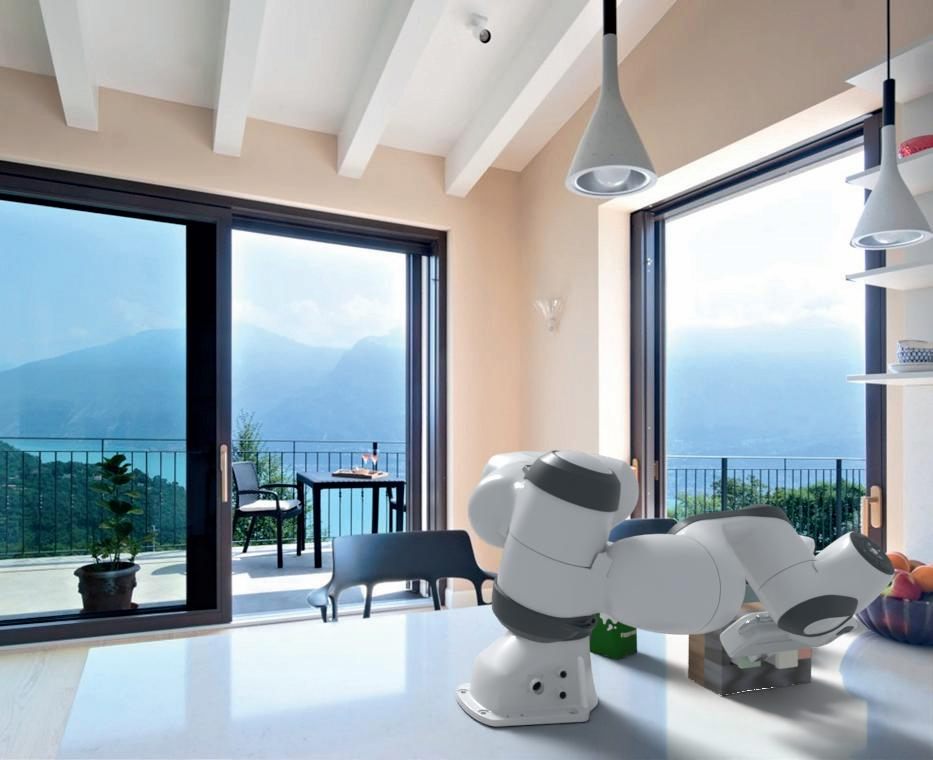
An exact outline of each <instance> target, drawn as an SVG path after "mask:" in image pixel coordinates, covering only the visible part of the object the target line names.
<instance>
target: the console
mask: <svg viewBox="0 0 933 760" xmlns="http://www.w3.org/2000/svg"><path fill="white" fill-rule="evenodd" d="M757 612H766V609H765V608H764V606H763V605H762V603H761V602H753V603H742V605H741V608H740V610H739V611H738V613H737V615H736V616H735V617H734V619H733V620H732V621H731V622H730V623H728V624H727V625H726V626H724V627H722V628H720V629H718V630H715V631H712V632H709V633H704V634H697V635H688V652H687V653H688V656H687V659H688V661H687V662H688V663H687V664H688V665H687V667H688V669H687V670H688V671H687V676H688V677H687V679H689V678H690V679H691V681H692V680H694V681H695V683H696V682H697V683H696V684H698V683H699V684H698V685H700V686H702V687H703V686H704V687H703V688H705V687H706V688H705V689H707V688H708V689H707V690H709V689H710V690H709V691H711V690H712V691H711V692H713V691H714V692H716V693H718V694H720V695H726V694H732V693H737V692H742V691H747V690H754V689H755V690H756V689H762V688H770V689H772V688H771V687H777V688H780V687H779V686H783V687H786V686H785V685H790V686H793V685H792V684H796V685H800V684H799V683H802V684H808V682H809V683H812V658H805V659H798V666H797V667H790V668H783V669H778V668H776V667H775V665H773V664H771V663H769V662H766V661H764V660H762V661H761V666H758V667H750V668H743V669H741V668H739V667H738V665H737V664H735V663H732V662H730V657H729V655H728V654H727V652H726V651H725V649H724V647H723V645H722V643H721V641H720V635H721V633H722V632H723V631H725V630H726V629H727V628H728V627H729V626H731V625H732V624H733V623H734V622H736V621H737V620H738V619H740V618H741V617H743V616H745V615H747V614H751V613H757ZM690 679H689V680H690ZM694 681H693V682H694ZM714 692H713V693H714ZM716 693H715V694H716ZM718 694H717V695H718ZM720 695H719V696H720ZM732 695H733V694H732ZM726 696H727V695H726Z"/></svg>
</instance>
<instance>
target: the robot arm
mask: <svg viewBox="0 0 933 760" xmlns="http://www.w3.org/2000/svg"><path fill="white" fill-rule="evenodd" d="M639 494H640V488H639V481H638V478H637V475H636V473H635V472H634V470H633V468H632V467H631V466H630V464H628V462H627V461H625V460H621V459H618V458H614V457H610V456H606V455H601V454H593V453H590V454H589V453H585V452H583V451H578V450H558V449H557V450H556V449H555V450H550V451H532V450H531V451H528V450H520V451H510V452H504V453H499V454H498V453H497V454H494V455H493V456H492V457H491V458H490V459H489V460H488V461H487V462H486V463H485V465H484V467H483V469H482V473H481V476H480V481H479V482H477V485H475V486H474V488H473V490H472V492H471V493H470V496H469V498H468V499H469V500H468V502H467V503H468V504H467V518H468V521H469V524H470V527H471V529H472V531H473V532H474V534H475V535H476V536H477V537H478V538H479V539H480V540H481V541H482V542H484V543H485V544H487V545H489V546H491V547H494V548H496V549H501V550H502V549H503V550H502V554H501V558H500V561H499V567H498V573H497V575H496V577H495V578H494V579H493V584H492V591H491V610H492V612H493V614H494V615H495V617H496V618H497V620H498V621H499V623H500V624H501V625H502V626H503V627H504V628H505V629H507V630H506V631H505V632H504V633H503V634H501V635H500V637H498V638H497V639H495V641H494V642H492V643H491V644H490V645H488V646H487V647H486V648H485V649H484V650H482V651H481V652H480V653H478V655H477V656H476V658H475V659H474V662H473V663H474V664H473V667H472V672H471V677H470V682H466V683H462V684H459V685H458V686H457V688H456V695H455V696H456V700H457V703H458V704H459V705H460V707H461V709H463V710H464V712H466V714H468V715H469V716H470V717H472V718H473V719H474V720H476V721H477V722H480V723H482V724H485V725H487V726H492V727H511V726H526V725H527V726H529V725H546V724H561V723H562V724H564V723H581V722H582V723H583V722H587V721H588V720H589V719H590V713H591V711H592V710H594V708H596V706H598V703H599V697H598V695H597V694H598V693H597V691H596V686H595V682H594V678H593V676H594V674H593V669H592V658H591V651H590V639H591V634H592V629H593V628H594V627H595V626H596V625H597V624H598V618H597V616H596V614H595V613H605V614H607V615H609V616H611V617H613V618H614V619H615V620H617V621H619V622H621V623H623V624H625V625H628V626H631V627H634V628H637V630H642V631H646V632H651V633H657V634H664V635H674V636H675V635H679V636H682V635H683V636H684V635H686V636H689V635H697V634H704V633H709V632H712V631H715V630H718V629H720V628H722V627H724V626H726V625H727V624H728V623H730V622H731V621H732V620H733V619H734V617H735V616H736V615H737V613H738V611H739V610H740V608H741V605H742V603H743V600H744V596H745V589H746V581H745V579H746V580H747V582H748V583H749V585H750V586H751V588H752V589H753V591H754V592H755V594H756V595H757V597H758V599H759V600H760V602H761V603H762V605H763V606H764V608H765V609H766V612H757V613H751V614H747V615H745V616H743V617H741V618H740V619H738V620H737V621H736V622H734V623H733V624H732V625H731V626H729V627H728V628H727V629H726V630H725V631H723V632H722V633H721V635H720V641H721V643H722V645H723V647H724V649H725V651H726V652H727V654H728V655H729V657H730V658H739V657H746V656H747V657H748V658H749V660H750V661H751V662H756V661H762V660H767V659H768V658H769V657H770V656H772V655H774V654H777V653H779V652H784V651H791V650H798V649H806V648H812V649H813V648H820V647H823V646H826V645H829V644H830V643H832V642H834V641H835V640H837V639H839V637H841V636H843V635H845V634H848V633H849V634H850V633H851V632H853V631H855V630H856V629H857V628H858V626H859V624H858V622H857V621H856V619H855V617H854V615H856V614H859V613H861V612H862V611H864V610H865V609H866V608H867V607H869V605H871V604H872V603H873V602H874V601H875V600H876V599H878V598H879V596H880V595H881V594H882V593H883V592H884V591H885V589H886V588H887V587H888V586H889V584H890V583H891V582H892V581H893V578H894V577H895V574H896V569H895V566H894V564H893V561H892V560H891V559H890V558H889V556H888V555H887V554H886V552H885V551H884V550H883V549H882V548H881V547H880V545H879V544H878V543H877V542H876V541H875V540H873V539H871V538H870V537H869V536H867V535H865V534H863V533H861V532H859V531H852V530H851V531H848V532H847V533H845V534H843V535H841V536H840V537H838V538H837V539H835V540H834V541H833V542H831V543H830V544H829V545H827V546H826V547H824V548H823V549H822V550H821V551H820V552H819V553H818V554H815V556H814V554H813V553H812V552H811V550H810V549H809V548H808V546H807V545H806V544H805V543H804V541H803V540H802V539H801V537H800V536H799V535H800V534H799V533H798V532H797V531H796V529H795V527H794V525H793V524H792V522H791V521H790V518H788V516H787V514H786V513H785V511H784V510H783V509H782V508H781V507H779V506H774V505H772V504H767V503H753V504H749V505H747V506H744V507H741V508H738V509H731V510H729V509H728V510H719V511H712V512H705V513H704V512H703V513H697V514H694V515H690V516H688V517H685V518H682V519H681V520H680V521H678V522H676V523H675V524H674V525H673V526H672V527H671V528H670V529H669V530H668V531H667V532H666V533H652V534H650V533H649V534H642V535H633V536H630V537H624V538H622V539H619V540H616V541H614V542H612V541H609V538H610V535H611V531H612V530H614V529H615V527H617V526H618V525H620V524H622V523H623V522H625V521H626V520H627V519H628V517H630V516H631V515H632V513H633V512H634V511H635V508H636V506H637V504H638V501H639Z"/></svg>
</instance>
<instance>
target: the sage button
mask: <svg viewBox="0 0 933 760" xmlns="http://www.w3.org/2000/svg"><path fill="white" fill-rule="evenodd" d="M730 662H732V663H735V664H737V665H738V667H739V668H741V669H743V668H750V667H758V666H761V661H756V662H751V661H750V660H749V658H748V657H747V656H746V657H739V658H730Z"/></svg>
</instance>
